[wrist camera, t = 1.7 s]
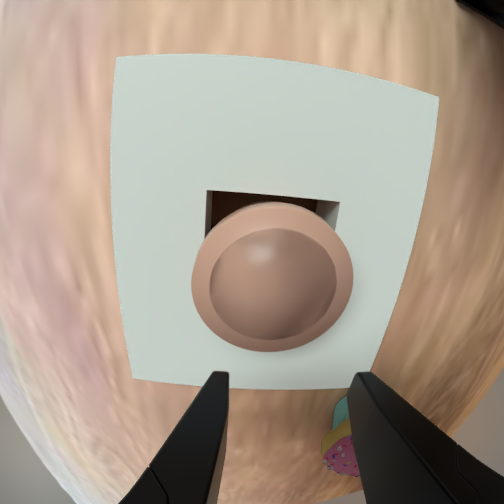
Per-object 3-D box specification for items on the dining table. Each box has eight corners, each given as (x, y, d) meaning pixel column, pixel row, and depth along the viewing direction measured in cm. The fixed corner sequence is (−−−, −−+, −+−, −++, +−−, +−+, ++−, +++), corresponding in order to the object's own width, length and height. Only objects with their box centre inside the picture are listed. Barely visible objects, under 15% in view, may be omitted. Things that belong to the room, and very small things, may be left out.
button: (338, 192, 15) (368, 218, 11) (316, 306, 18) (334, 352, 14) (204, 181, 15) (192, 202, 11) (200, 299, 17) (191, 347, 13)
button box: (402, 98, 16) (439, 97, 12) (347, 349, 23) (362, 386, 19) (142, 68, 15) (116, 57, 11) (146, 340, 22) (132, 378, 18)
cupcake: (409, 400, 26) (453, 496, 15) (337, 440, 28) (361, 538, 17) (380, 357, 23) (437, 478, 12) (294, 406, 25) (314, 530, 14)
